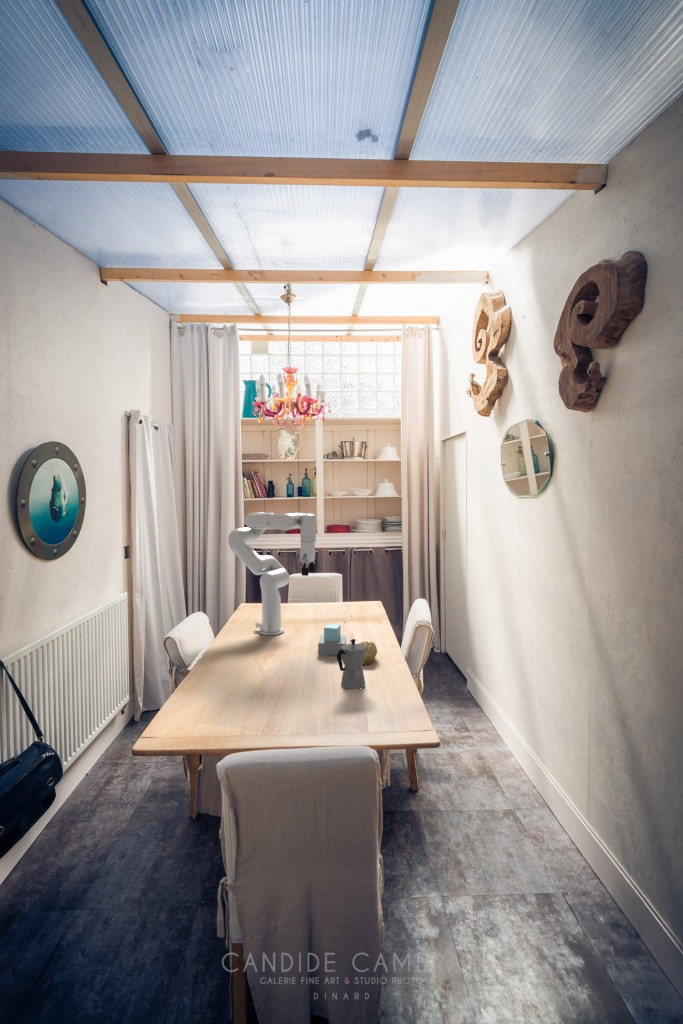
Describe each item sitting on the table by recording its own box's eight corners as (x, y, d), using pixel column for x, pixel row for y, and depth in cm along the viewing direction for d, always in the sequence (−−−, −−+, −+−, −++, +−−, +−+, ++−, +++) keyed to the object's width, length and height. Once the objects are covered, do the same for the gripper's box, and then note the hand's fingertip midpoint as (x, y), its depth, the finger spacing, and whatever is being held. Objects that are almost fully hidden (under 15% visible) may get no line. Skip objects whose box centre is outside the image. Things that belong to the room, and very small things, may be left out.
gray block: (318, 656, 238) (318, 643, 237) (320, 647, 250) (320, 635, 249) (345, 656, 237) (345, 643, 237) (346, 648, 249) (346, 635, 249)
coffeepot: (355, 677, 212) (355, 633, 210) (373, 683, 205) (373, 638, 204) (328, 688, 200) (328, 641, 199) (346, 695, 194) (346, 647, 193)
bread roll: (377, 655, 239) (377, 637, 239) (376, 666, 224) (376, 648, 224) (356, 654, 240) (356, 637, 239) (353, 666, 225) (353, 647, 225)
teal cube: (324, 640, 241) (324, 627, 241) (328, 636, 247) (328, 624, 247) (336, 641, 240) (336, 628, 239) (340, 637, 245) (340, 625, 245)
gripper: (306, 537, 270) (307, 570, 271) (294, 540, 253) (294, 576, 254) (320, 537, 268) (321, 571, 269) (309, 541, 251) (309, 577, 252)
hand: (308, 573), depth 262 cm, fingers open, 9 cm apart
